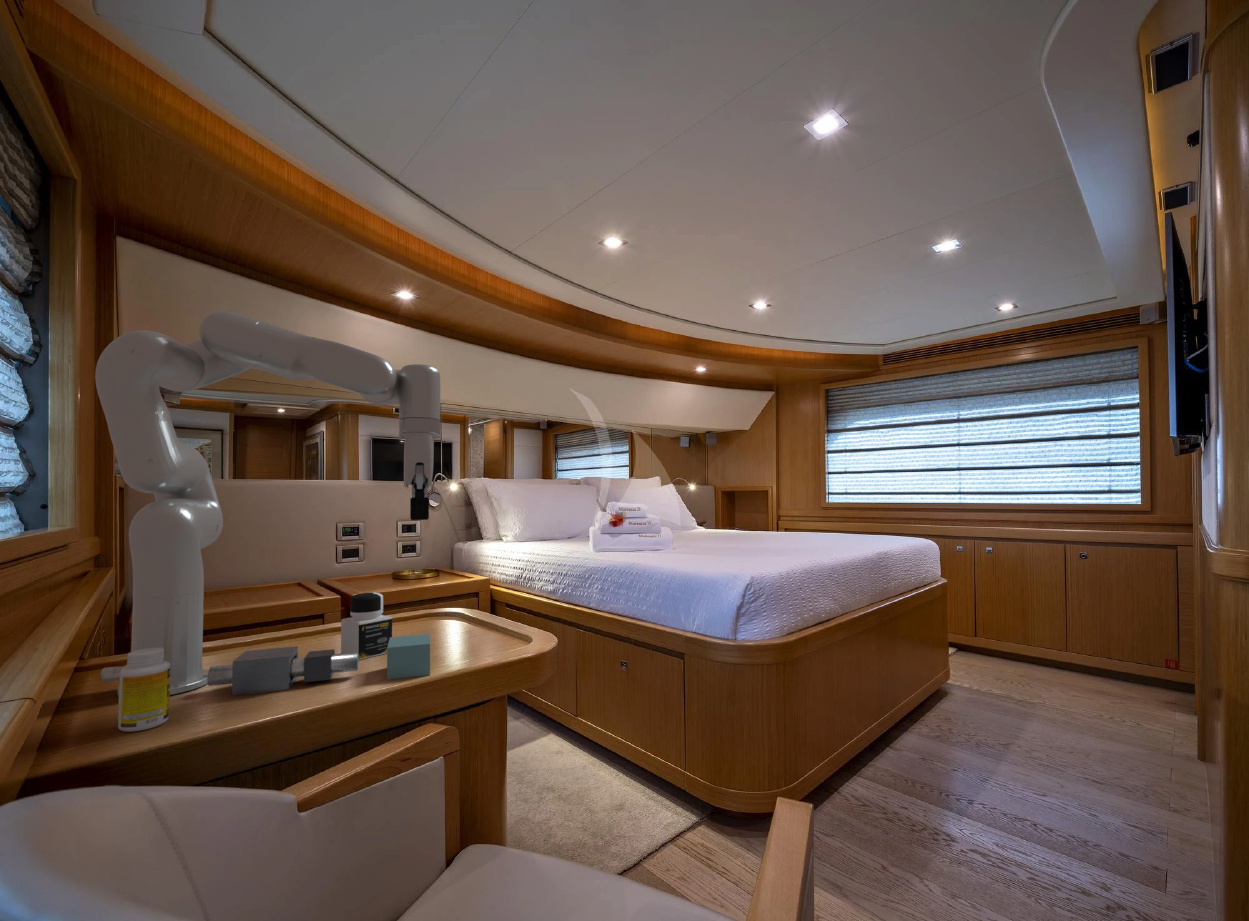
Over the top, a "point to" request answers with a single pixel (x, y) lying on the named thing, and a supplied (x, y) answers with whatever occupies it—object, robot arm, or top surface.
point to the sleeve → (263, 671)
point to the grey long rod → (299, 667)
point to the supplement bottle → (144, 690)
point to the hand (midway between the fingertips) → (419, 519)
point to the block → (408, 656)
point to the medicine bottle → (366, 627)
